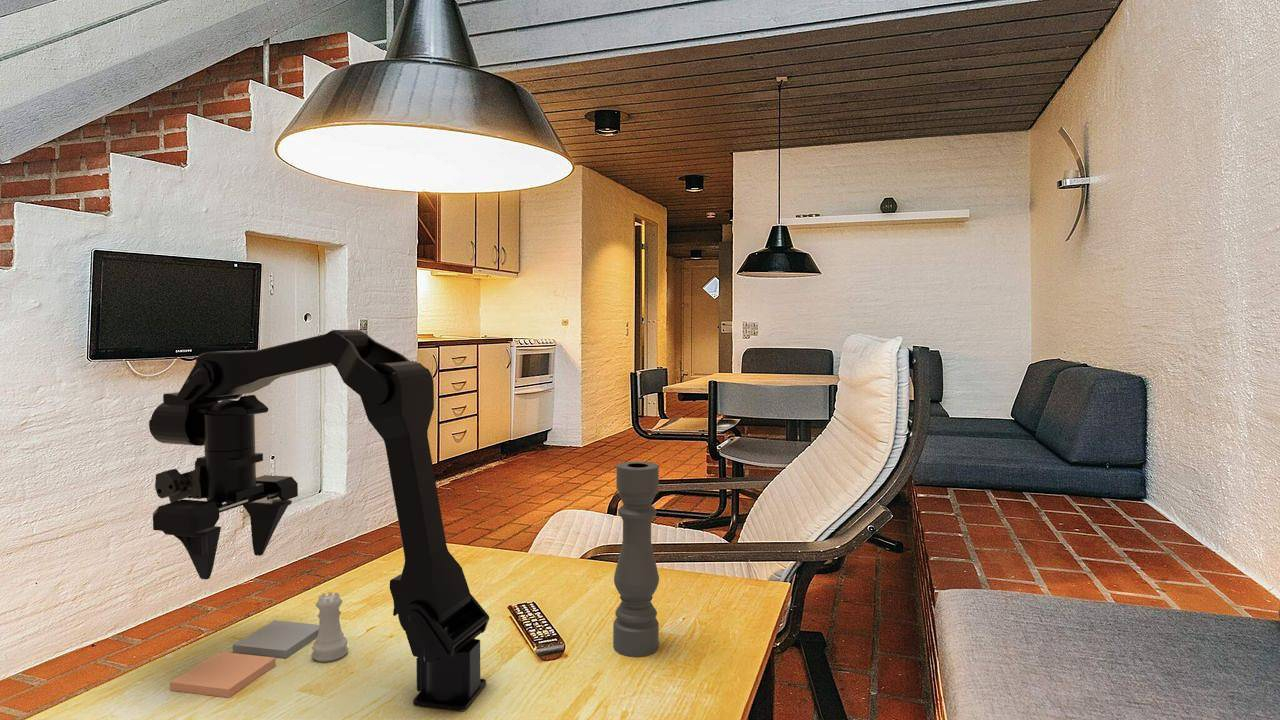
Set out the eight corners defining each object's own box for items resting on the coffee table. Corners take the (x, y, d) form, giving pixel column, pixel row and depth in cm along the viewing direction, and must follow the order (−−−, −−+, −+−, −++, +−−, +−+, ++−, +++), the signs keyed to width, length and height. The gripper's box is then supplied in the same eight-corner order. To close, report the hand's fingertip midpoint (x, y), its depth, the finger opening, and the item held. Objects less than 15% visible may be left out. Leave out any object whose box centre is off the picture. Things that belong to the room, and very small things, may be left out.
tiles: (324, 632, 102) (324, 625, 101) (228, 697, 84) (228, 689, 84) (274, 626, 103) (274, 620, 103) (169, 690, 85) (169, 682, 85)
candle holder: (605, 651, 96) (607, 467, 95) (623, 633, 102) (625, 459, 101) (648, 660, 94) (651, 471, 93) (664, 640, 100) (667, 463, 98)
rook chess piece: (337, 644, 98) (336, 586, 97) (354, 654, 95) (353, 595, 95) (305, 656, 94) (304, 596, 94) (321, 666, 92) (320, 605, 91)
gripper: (231, 434, 103) (233, 540, 104) (111, 458, 85) (116, 587, 86) (299, 437, 101) (301, 546, 102) (191, 463, 83) (195, 595, 84)
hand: (233, 566), depth 94 cm, fingers open, 9 cm apart
